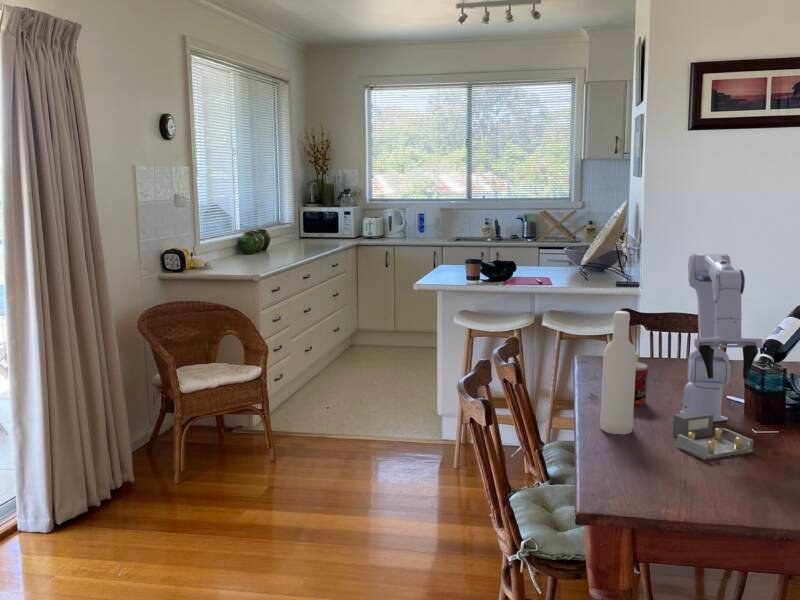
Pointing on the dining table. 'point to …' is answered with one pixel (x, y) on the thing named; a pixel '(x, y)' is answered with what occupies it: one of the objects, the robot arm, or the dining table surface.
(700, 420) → the block
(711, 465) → the dining table surface
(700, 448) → the pin tray
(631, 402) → the bottle
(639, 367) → the canned food
